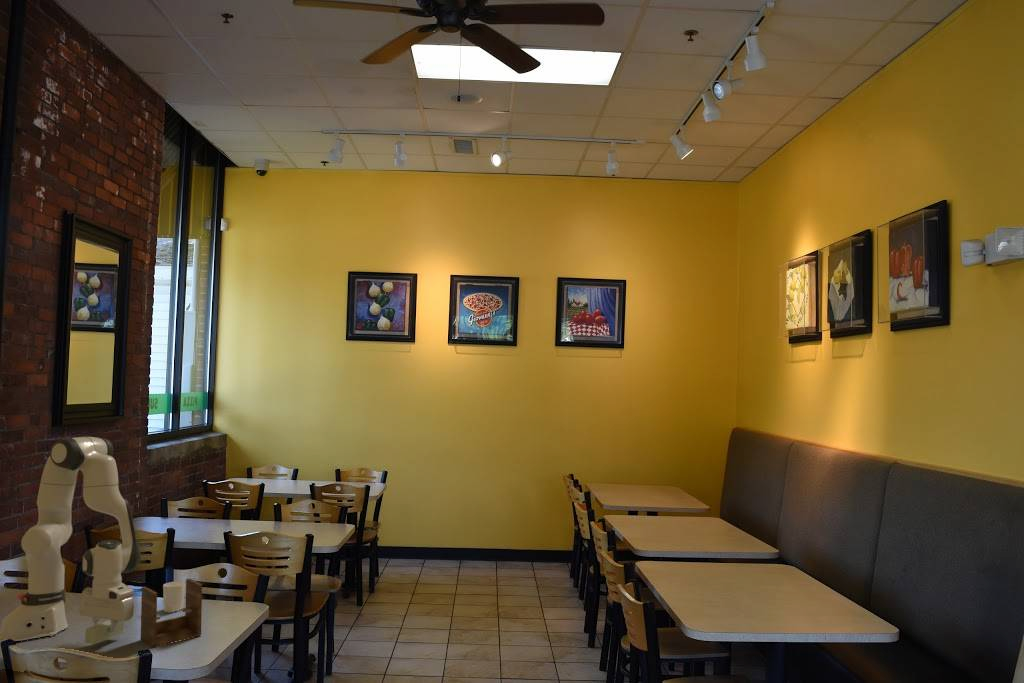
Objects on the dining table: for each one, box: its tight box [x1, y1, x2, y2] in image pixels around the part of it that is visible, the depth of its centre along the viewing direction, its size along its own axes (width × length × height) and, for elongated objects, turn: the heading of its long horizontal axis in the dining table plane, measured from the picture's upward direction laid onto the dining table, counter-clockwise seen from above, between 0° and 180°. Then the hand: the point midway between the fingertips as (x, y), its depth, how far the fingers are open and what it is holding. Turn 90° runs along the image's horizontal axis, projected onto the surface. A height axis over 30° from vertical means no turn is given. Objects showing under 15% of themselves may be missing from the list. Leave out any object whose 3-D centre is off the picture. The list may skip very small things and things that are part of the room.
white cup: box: [162, 580, 186, 613], centre depth 294 cm, size 8×8×10 cm
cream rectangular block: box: [84, 619, 125, 645], centre depth 257 cm, size 12×4×4 cm, turn 162°
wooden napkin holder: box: [140, 578, 203, 649], centre depth 263 cm, size 16×11×18 cm
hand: (104, 631), depth 257 cm, fingers closed on cream rectangular block, 4 cm apart
